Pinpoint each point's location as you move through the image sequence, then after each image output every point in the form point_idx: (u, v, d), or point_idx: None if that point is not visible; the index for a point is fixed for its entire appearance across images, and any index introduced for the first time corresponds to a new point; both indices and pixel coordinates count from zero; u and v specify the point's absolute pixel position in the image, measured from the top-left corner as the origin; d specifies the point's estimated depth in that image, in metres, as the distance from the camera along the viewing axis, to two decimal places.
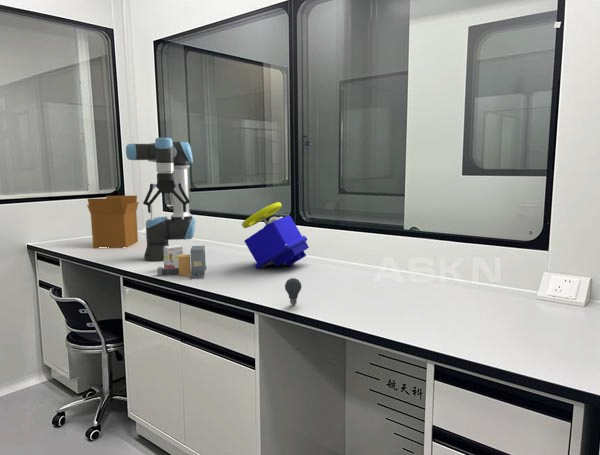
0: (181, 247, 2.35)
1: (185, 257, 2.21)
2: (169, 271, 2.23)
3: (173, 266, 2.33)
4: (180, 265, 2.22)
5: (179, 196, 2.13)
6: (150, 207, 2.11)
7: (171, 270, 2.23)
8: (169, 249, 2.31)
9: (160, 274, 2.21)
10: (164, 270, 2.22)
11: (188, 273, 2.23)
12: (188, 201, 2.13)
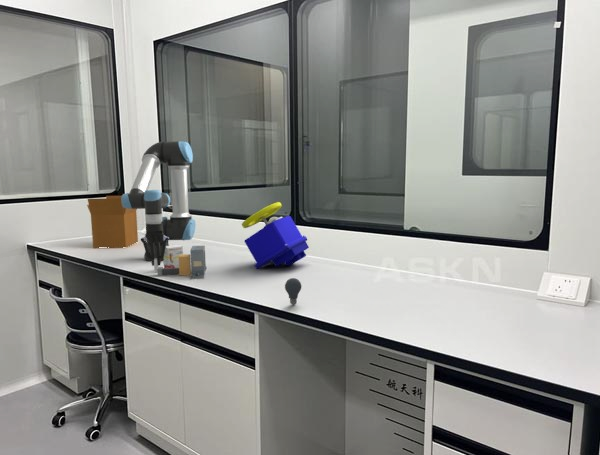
0: (181, 247, 2.35)
1: (185, 257, 2.21)
2: (169, 271, 2.23)
3: (173, 266, 2.33)
4: (180, 265, 2.22)
5: (159, 249, 2.21)
6: (154, 260, 2.21)
7: (171, 270, 2.23)
8: (169, 249, 2.31)
9: (160, 274, 2.21)
10: (164, 270, 2.22)
11: (188, 273, 2.23)
12: (162, 256, 2.21)
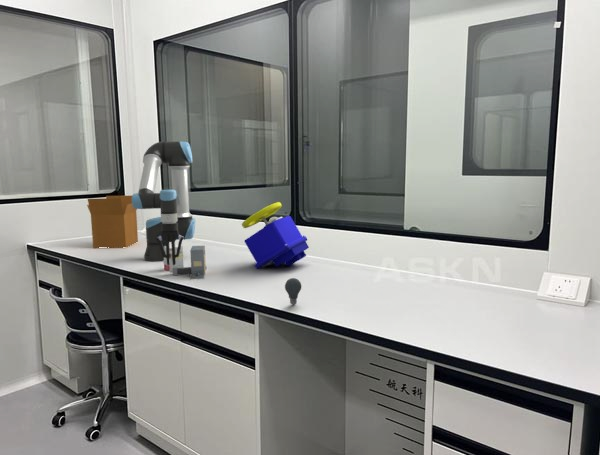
0: (181, 247, 2.35)
1: None
2: (184, 271, 2.23)
3: (173, 266, 2.33)
4: None
5: (174, 249, 2.22)
6: (169, 260, 2.22)
7: (186, 269, 2.23)
8: None
9: (175, 273, 2.22)
10: (179, 269, 2.23)
11: None
12: (177, 255, 2.22)
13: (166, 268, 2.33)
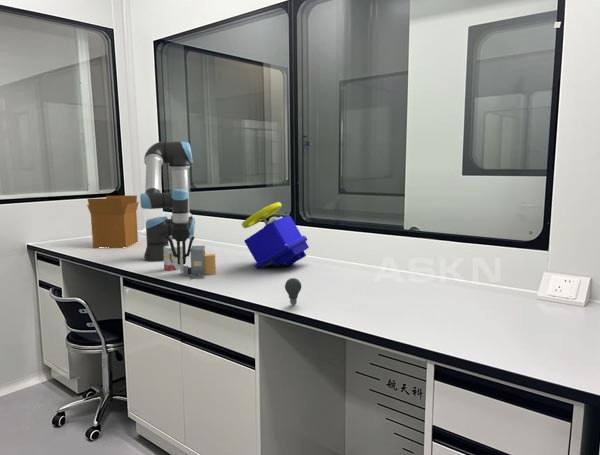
0: (181, 247, 2.35)
1: (211, 256, 2.23)
2: None
3: (173, 266, 2.33)
4: (206, 264, 2.23)
5: (185, 248, 2.23)
6: (180, 259, 2.22)
7: None
8: (169, 249, 2.31)
9: (186, 273, 2.23)
10: (190, 269, 2.24)
11: (214, 272, 2.24)
12: (188, 255, 2.23)
13: (166, 268, 2.33)
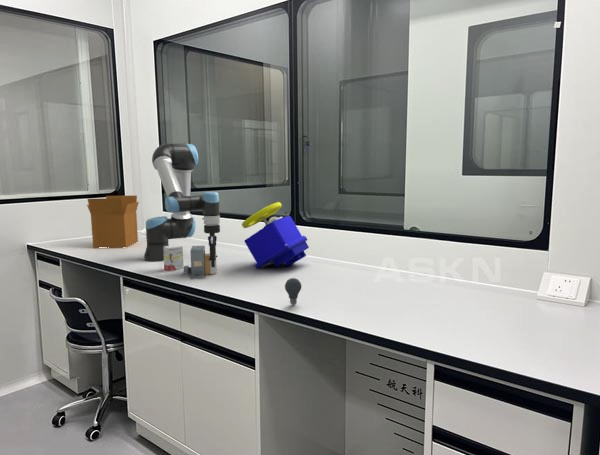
0: (181, 247, 2.35)
1: None
2: None
3: (173, 266, 2.33)
4: (206, 264, 2.23)
5: None
6: None
7: None
8: (169, 249, 2.31)
9: (186, 273, 2.23)
10: (190, 269, 2.24)
11: None
12: None
13: (166, 268, 2.33)
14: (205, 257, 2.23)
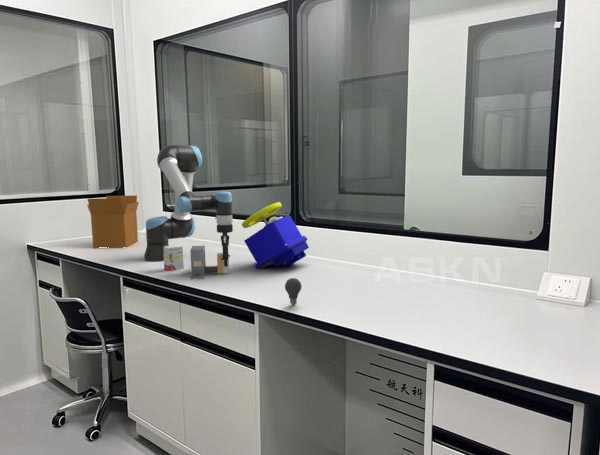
0: (181, 247, 2.35)
1: None
2: (208, 269, 2.25)
3: (173, 266, 2.33)
4: (219, 263, 2.24)
5: None
6: None
7: (210, 268, 2.25)
8: (169, 249, 2.31)
9: None
10: None
11: None
12: None
13: (166, 268, 2.33)
14: (218, 256, 2.24)
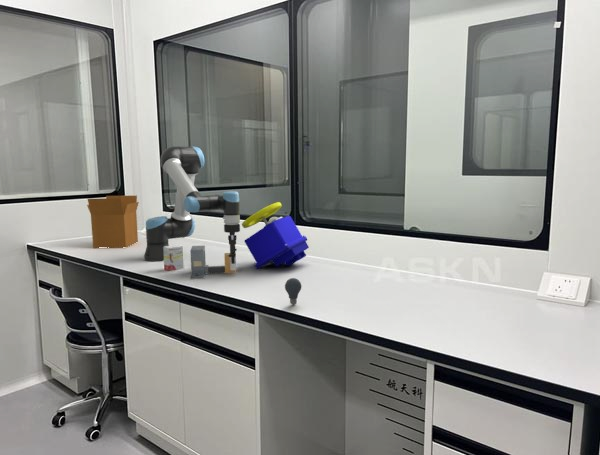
0: (181, 247, 2.35)
1: None
2: (215, 269, 2.26)
3: (173, 266, 2.33)
4: (226, 263, 2.25)
5: None
6: None
7: (217, 268, 2.26)
8: (169, 249, 2.31)
9: (206, 272, 2.24)
10: (210, 268, 2.25)
11: (234, 271, 2.26)
12: (230, 254, 2.17)
13: (166, 268, 2.33)
14: (225, 256, 2.24)
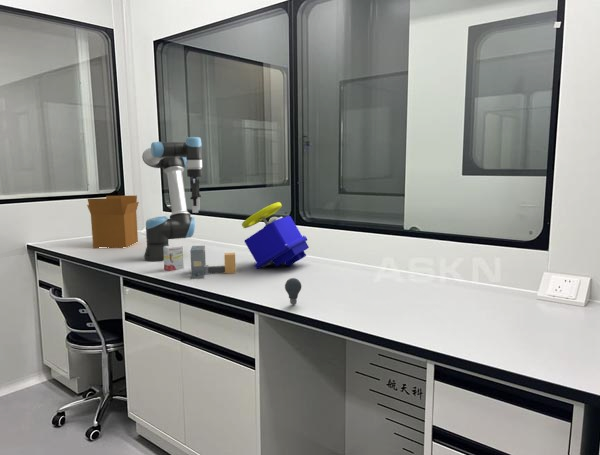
0: (181, 247, 2.35)
1: (231, 255, 2.24)
2: (215, 269, 2.26)
3: (173, 266, 2.33)
4: (226, 263, 2.25)
5: None
6: None
7: (217, 268, 2.26)
8: (169, 249, 2.31)
9: (206, 272, 2.24)
10: (210, 268, 2.25)
11: (234, 271, 2.26)
12: (191, 196, 2.25)
13: (166, 268, 2.33)
14: (225, 256, 2.24)
